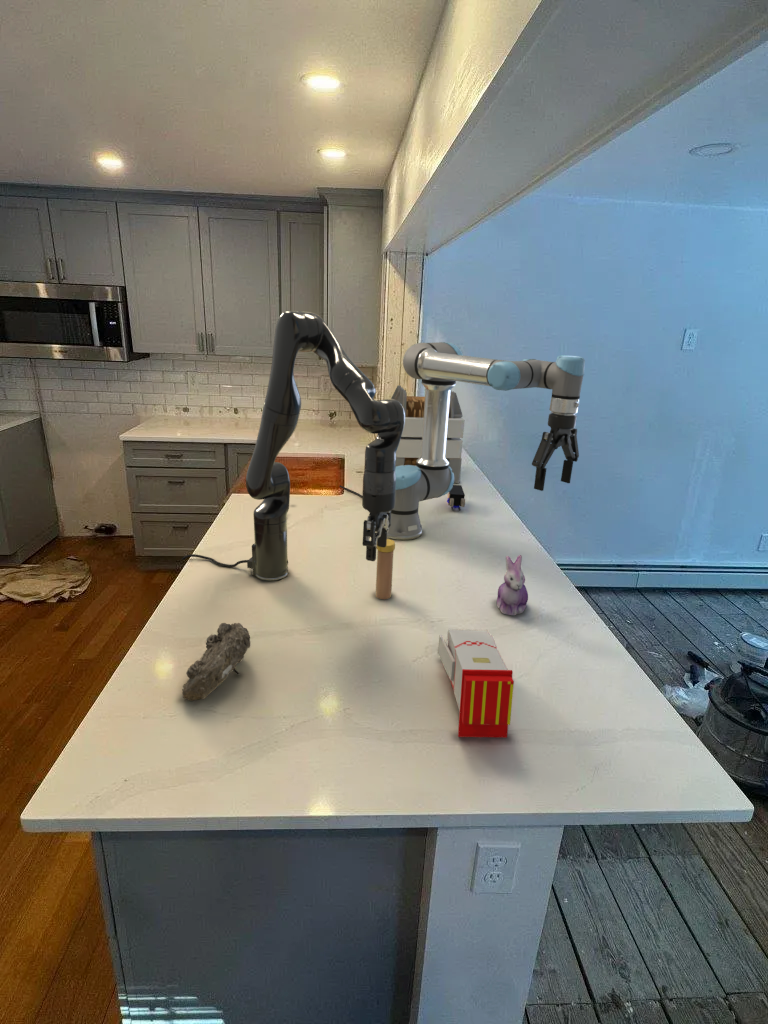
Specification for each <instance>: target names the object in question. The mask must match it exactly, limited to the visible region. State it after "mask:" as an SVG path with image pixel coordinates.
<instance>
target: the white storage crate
mask: <svg viewBox="0 0 768 1024" xmlns="http://www.w3.org/2000/svg"><path fill="white" fill-rule="evenodd" d="M407 394H408V393H407V390H406V389H404V388H403V387H402V385H399V384H398V385H397V386H396V388H395V390H394V392H393V394H392V395H391V398H390V399H395V400H397V401H399V402H400V403H401V405H402V406H403V409H404V412H405V424H404V429H403V432H402V436H401V439H400V442H399V445H398V448H397V451H396V466H401V465H404V466H405V465H413V466H416V461H417V459H418V458H420V457H421V449H422V434H423V419H424V404H425V396H415V395H414V396H413V395H412V396H411V395H407ZM464 429H465V419H464V418H463V411H462V408H461V405H460V402H459V398H458V395H457V392H455V391H453V390H451V392H450V404H449V416H448V428H447V441H446V453H445V458H446V459H447V461H448V462H449V466H450V467H451V469H452V473H454V484H455V483H456V484H459V483H461V472H462V461H463V460H462V453H463V442H464V441H463V440H462V439H463V438H464V431H465V430H464Z"/></svg>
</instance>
